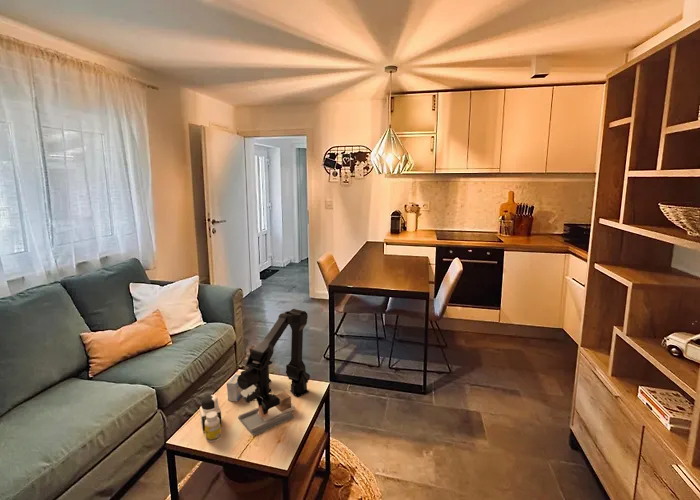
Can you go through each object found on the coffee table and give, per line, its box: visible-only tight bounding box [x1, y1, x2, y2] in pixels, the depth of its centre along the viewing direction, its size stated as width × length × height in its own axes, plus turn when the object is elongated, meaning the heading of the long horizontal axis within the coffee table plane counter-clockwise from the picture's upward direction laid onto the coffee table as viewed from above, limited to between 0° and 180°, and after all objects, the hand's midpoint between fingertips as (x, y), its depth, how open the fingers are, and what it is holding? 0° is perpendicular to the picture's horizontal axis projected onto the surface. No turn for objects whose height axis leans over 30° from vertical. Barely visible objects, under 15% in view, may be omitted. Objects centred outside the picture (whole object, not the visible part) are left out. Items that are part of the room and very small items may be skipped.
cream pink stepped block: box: [257, 403, 297, 422], centre depth 157 cm, size 14×7×5 cm, turn 129°
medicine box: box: [226, 374, 243, 402], centre depth 170 cm, size 8×4×9 cm, turn 168°
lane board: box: [237, 407, 295, 437], centre depth 155 cm, size 18×14×2 cm
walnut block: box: [275, 391, 292, 412], centre depth 159 cm, size 5×5×5 cm
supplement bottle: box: [204, 411, 222, 443], centre depth 143 cm, size 5×5×10 cm
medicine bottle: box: [199, 394, 223, 433], centre depth 150 cm, size 7×7×12 cm
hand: (263, 412), depth 154 cm, fingers closed on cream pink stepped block, 2 cm apart
